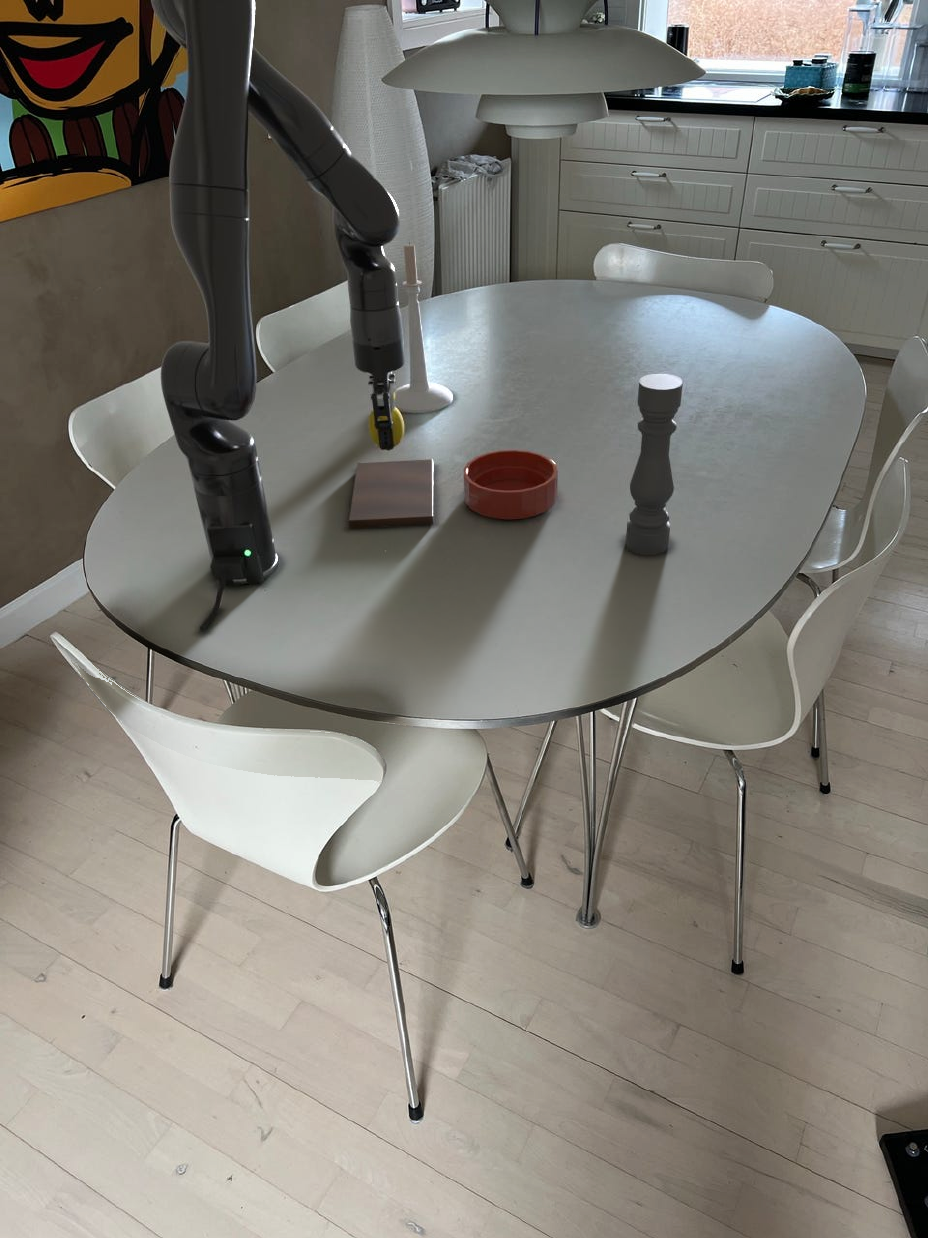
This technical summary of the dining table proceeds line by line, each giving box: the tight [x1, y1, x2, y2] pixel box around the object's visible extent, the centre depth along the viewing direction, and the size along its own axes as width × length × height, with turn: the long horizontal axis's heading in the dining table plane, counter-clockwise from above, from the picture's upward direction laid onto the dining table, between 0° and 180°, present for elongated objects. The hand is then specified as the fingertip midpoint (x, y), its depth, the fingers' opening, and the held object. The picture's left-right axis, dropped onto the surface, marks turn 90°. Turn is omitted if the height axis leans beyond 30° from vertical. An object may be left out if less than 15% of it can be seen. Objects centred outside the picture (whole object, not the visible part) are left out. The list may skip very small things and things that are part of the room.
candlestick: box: [394, 242, 454, 414], centre depth 176 cm, size 13×13×30 cm
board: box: [348, 458, 434, 530], centre depth 152 cm, size 20×13×2 cm, turn 2°
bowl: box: [462, 449, 559, 520], centre depth 148 cm, size 15×15×5 cm
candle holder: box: [625, 373, 684, 556], centre depth 129 cm, size 6×6×25 cm
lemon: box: [368, 407, 405, 452], centre depth 145 cm, size 6×6×8 cm
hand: (387, 439), depth 146 cm, fingers closed on lemon, 5 cm apart
